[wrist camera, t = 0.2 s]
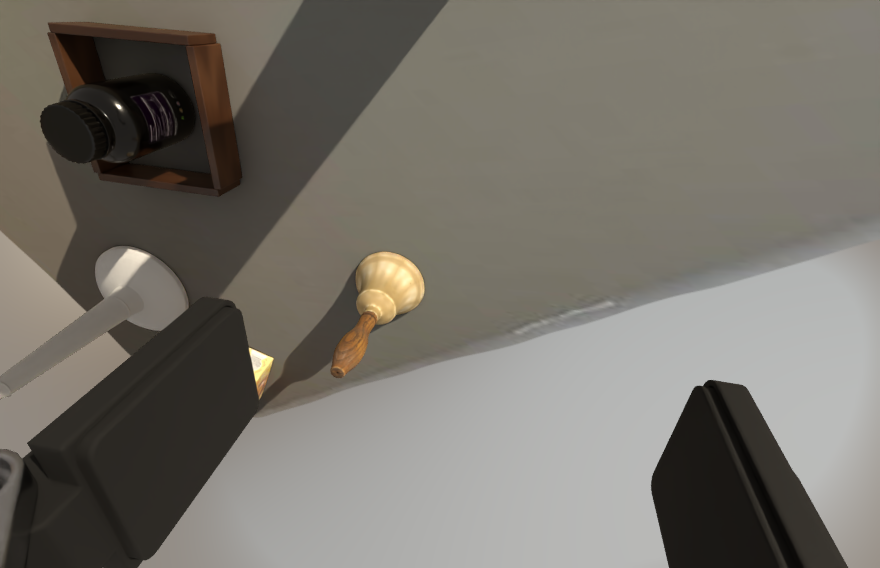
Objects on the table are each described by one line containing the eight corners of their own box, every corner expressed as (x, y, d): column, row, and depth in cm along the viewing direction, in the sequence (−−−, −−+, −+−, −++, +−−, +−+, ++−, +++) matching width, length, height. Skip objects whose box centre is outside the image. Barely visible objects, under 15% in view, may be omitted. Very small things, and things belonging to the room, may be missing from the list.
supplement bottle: (152, 143, 50) (52, 176, 39) (125, 74, 46) (9, 92, 36) (207, 140, 48) (119, 174, 38) (184, 69, 45) (79, 86, 35)
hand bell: (342, 278, 54) (275, 366, 40) (387, 237, 50) (331, 320, 37) (391, 324, 56) (344, 422, 43) (439, 289, 52) (404, 385, 39)
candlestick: (105, 310, 64) (-176, 503, 39) (92, 232, 58) (-259, 404, 32) (190, 339, 64) (-38, 552, 39) (187, 265, 57) (-93, 464, 32)
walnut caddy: (81, 21, 44) (43, 22, 41) (219, 34, 42) (191, 35, 39) (125, 168, 52) (96, 179, 49) (243, 185, 50) (222, 197, 47)
